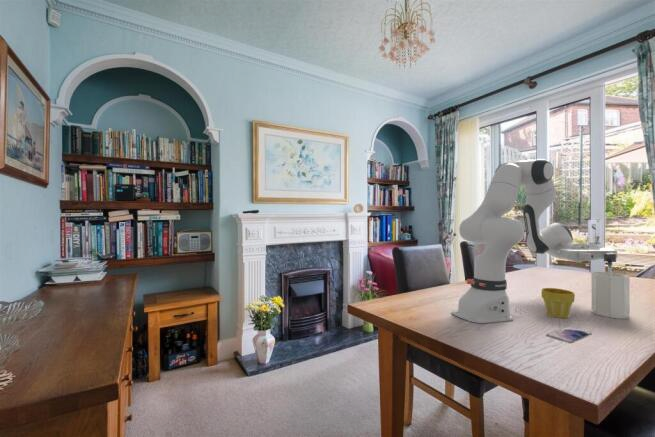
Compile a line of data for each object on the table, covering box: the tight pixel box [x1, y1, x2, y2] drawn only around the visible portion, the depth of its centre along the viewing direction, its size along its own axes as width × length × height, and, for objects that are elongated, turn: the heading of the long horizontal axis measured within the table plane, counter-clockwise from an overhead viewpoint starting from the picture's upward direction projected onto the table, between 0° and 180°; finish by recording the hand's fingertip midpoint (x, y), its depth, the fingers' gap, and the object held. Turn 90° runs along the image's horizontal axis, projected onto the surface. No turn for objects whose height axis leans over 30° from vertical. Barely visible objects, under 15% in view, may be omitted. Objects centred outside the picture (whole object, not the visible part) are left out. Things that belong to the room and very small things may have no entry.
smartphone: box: [545, 326, 593, 344], centre depth 98 cm, size 7×1×15 cm
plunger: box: [603, 253, 617, 276], centre depth 118 cm, size 8×8×22 cm
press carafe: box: [590, 271, 631, 320], centre depth 119 cm, size 13×10×16 cm
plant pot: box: [541, 287, 575, 319], centre depth 117 cm, size 10×10×10 cm
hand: (603, 256), depth 121 cm, fingers open, 8 cm apart
